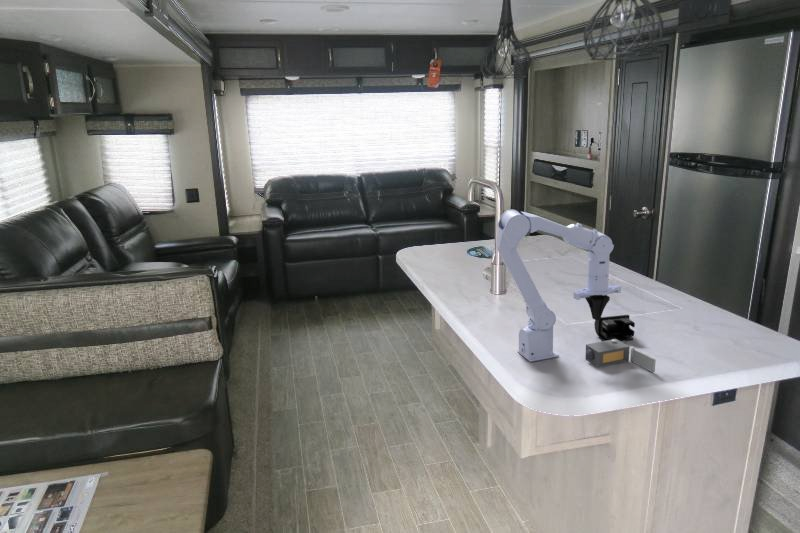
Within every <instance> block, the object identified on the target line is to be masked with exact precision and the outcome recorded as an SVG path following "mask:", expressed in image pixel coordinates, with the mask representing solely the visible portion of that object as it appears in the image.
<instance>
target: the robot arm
mask: <svg viewBox="0 0 800 533" xmlns="http://www.w3.org/2000/svg"><path fill="white" fill-rule="evenodd" d="M537 231H541V232H545V233H549V234H551V235H555V236H558V237H562V239H563V242H564V243H566V244H568V245H571V246H573V247H577V248H579V249H581V250H582V249H583V250H586V251H588V259H587V278H586V279H587V280H586V283H587V284H586V287H585V288H582V289H581V288H580V289H579V290H576V291H573V299H575V300H581V299H585V300H586V302H587V304H588V307H589V310H590V313H591V318H592V319H593V320H594V321H595V320H600V319H601V317H603V316H602V315H603V312H604V309H605V307H606V306H607V304H608V303H609V301H610V299H611V298H610V296H608V295H609V294H615V293H616V294H621V293H622V285H621V286H620V285H619V284H615V285H614V284H612V285H609V277H610V276H609V275H610V255H611V253H612V252H613V250H614V247H615V244H613V241H612V238H611V237H609V236H608V235H606V234H604V233H602V232H601V231H599V230H597V229H595V228H593V229H590V228H587V227H583V224H581V223H579V222H576V223H571V224H569V225H563V224H561V223H558V222H555V221H553V220H550V219H548V218H544V217H542V216H539V215H536V214H533V213H530V212H525V211H520V212H519V211H518V210H516V209H508V210H505V211H504V212H503V213H502V214H501V216H500V218H499V220H498V222H497V236H496V237H497V238H496V249H497V251H498V254H499V255H500V258H501V260H502V261H503V263H504V265H505V267H506V269H507V271H508V272H509V274H510V276H511V278H512V280H513V282H514V284H515V285H516V287H517V289H518V291H519V293H520V295H521V296H522V299H523V303H524V305H525V312H526V315H527V316H528V318H529V320H528V322H527V325H526V326H525V327H523V328H521V329H519V332H518V350H517V353H518V354H520V355H521V356H523V358H525V359H526V360H527V361H529V362H538V361H542V360H547V359H552V358H558V357H559V356H560V355H559V353H557V352H556V351H554V326H555V324H556V321H557V316H556V314H555V313H554V311H553V310H551V309H550V307H549V306H548V305H547V303H546V302H545V301H544V300H543V298H542V296H541V295H540V293H539V291H538V288H537V287H536V284H535V283H534V280H533V279H532V278H531V276H530V274H529V272H528V270H527V267H526V266H525V264H524V262H523V260H522V258H521V256H520V254H519V252H518V251H517V248H518V246H519V244H520V242H521V241H522V240H523V238H525V236H526V235H527V234H528V233H530V234H532V233H535V232H537Z"/></svg>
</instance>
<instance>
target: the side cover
mask: <svg viewBox="0 0 800 533" xmlns="http://www.w3.org/2000/svg"><path fill="white" fill-rule="evenodd" d="M629 361H630V362H631V363H635V364H636V365H638V366H640V367H642V368H645V369H646V370H647V371H650V372H652V373H655V372H656V361H657V359H656V358H654V357H652V356H650V355H649V354H647V353H644V352H642V351H640V350H638V349H636V348H635V346H630V356H629Z"/></svg>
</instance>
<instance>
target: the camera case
mask: <svg viewBox="0 0 800 533" xmlns="http://www.w3.org/2000/svg"><path fill="white" fill-rule="evenodd" d="M630 349H631V346H630V345H629V344H626V343H624V341H619V340H617V339H612V340H607V341H603V340H601V341H597V342H592V343H586V344H585V360H586V361H588V362H589V363H591V364H592V365H594V366H595V367H597V368H601V367H602V368H603V367H606V366H611V365H615V364H621V363H625V362H626V363H627V362H629V361H630Z"/></svg>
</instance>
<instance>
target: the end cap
mask: <svg viewBox="0 0 800 533" xmlns="http://www.w3.org/2000/svg"><path fill="white" fill-rule="evenodd" d="M635 324H636V323H635V322H634V321H633V320H631V319H630V315H629V314H619V315H609V316H601V319H600V320H595V319H594V324H593V325H594V331H595V333H596V335H597V337H598V338H599V339H600V340H601V341H607V340H612V339H617V340H619V341H621V342H628V341H629V342H630V341H633V340H634V336H635V331H634V330H633V329H632V328H635V326H636V325H635ZM630 326H631V327H632V328H631V327H630Z"/></svg>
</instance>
